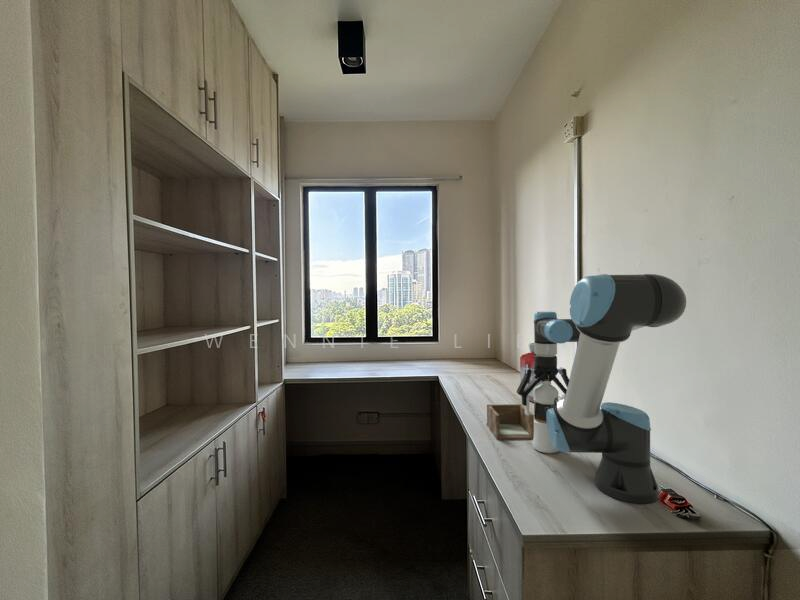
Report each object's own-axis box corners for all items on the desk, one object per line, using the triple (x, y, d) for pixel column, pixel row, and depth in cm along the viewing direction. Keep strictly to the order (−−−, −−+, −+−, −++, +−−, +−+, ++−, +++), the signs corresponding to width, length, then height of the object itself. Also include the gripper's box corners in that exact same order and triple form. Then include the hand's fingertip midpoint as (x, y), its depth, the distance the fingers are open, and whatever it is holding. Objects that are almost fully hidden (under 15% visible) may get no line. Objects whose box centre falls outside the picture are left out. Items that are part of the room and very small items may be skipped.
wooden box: (534, 439, 141) (534, 415, 141) (497, 439, 141) (496, 416, 140) (520, 424, 157) (520, 403, 157) (486, 425, 157) (486, 404, 156)
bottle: (518, 398, 198) (518, 342, 198) (534, 396, 201) (534, 341, 201) (536, 405, 184) (535, 345, 184) (553, 403, 187) (552, 344, 187)
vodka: (543, 441, 138) (542, 361, 138) (566, 450, 130) (565, 365, 130) (527, 447, 133) (526, 364, 133) (550, 456, 125) (549, 368, 125)
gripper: (575, 352, 135) (575, 410, 136) (507, 353, 135) (507, 411, 135) (585, 356, 128) (586, 417, 128) (514, 357, 128) (514, 418, 128)
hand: (545, 414), depth 132 cm, fingers open, 13 cm apart
